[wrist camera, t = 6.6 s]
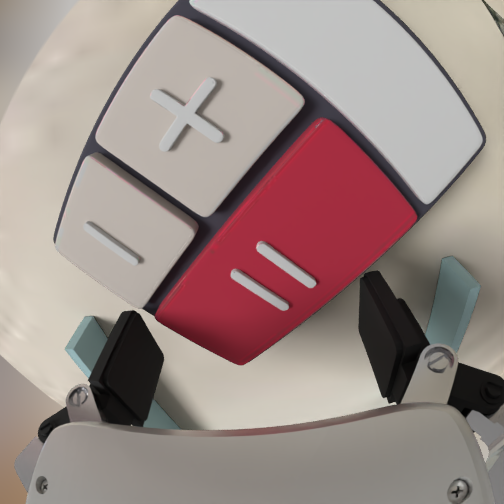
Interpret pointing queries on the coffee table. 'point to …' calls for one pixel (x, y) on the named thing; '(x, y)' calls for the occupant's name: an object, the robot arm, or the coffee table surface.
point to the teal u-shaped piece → (438, 331)
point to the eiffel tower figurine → (496, 17)
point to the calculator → (262, 164)
